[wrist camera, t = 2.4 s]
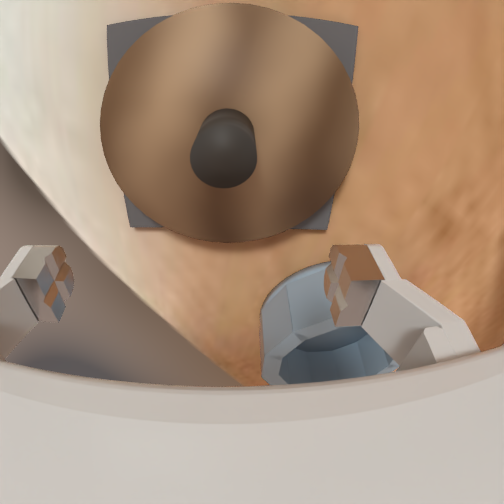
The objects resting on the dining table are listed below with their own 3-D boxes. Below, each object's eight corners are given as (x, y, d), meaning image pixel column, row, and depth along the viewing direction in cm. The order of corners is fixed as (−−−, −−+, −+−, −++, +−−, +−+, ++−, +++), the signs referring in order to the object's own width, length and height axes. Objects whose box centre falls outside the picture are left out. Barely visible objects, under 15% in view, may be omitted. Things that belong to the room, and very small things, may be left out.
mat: (355, 26, 15) (358, 26, 14) (325, 225, 24) (327, 229, 23) (110, 25, 14) (106, 25, 13) (132, 222, 23) (130, 227, 23)
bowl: (413, 260, 27) (438, 308, 22) (370, 347, 35) (382, 389, 31) (264, 259, 26) (269, 316, 21) (256, 353, 35) (258, 399, 30)
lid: (366, 21, 14) (406, 19, 10) (331, 235, 24) (349, 282, 20) (99, 19, 13) (56, 19, 9) (125, 232, 23) (104, 278, 19)
